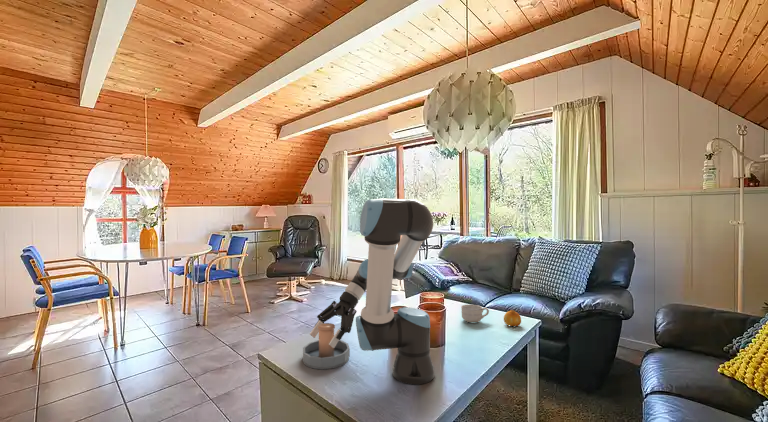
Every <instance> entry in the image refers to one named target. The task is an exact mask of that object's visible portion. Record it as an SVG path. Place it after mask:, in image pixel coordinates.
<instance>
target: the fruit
mask: <svg viewBox="0 0 768 422" xmlns="http://www.w3.org/2000/svg"><path fill="white" fill-rule="evenodd" d="M503 321H504V324H505V325H506V324H507V326H508V325H510V326H517V327H518V325H519V326H520V325H521V323H522V318H521V315H520V313H518V312H516V310H514V309H511V310H509V311H506V313H504V316H503ZM510 326H509V327H510Z"/></svg>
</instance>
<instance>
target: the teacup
mask: <svg viewBox="0 0 768 422" xmlns="http://www.w3.org/2000/svg"><path fill="white" fill-rule="evenodd" d="M460 307H461V318H462V319H463V320H464V322H466V321H467V322H466V323H468V322H478V323H479V322H480V321H481V320H482V319H484V318H485V317H486V316H488V315H489V313H490V310H489V308H487V307H486V306H485V307H483V306H481V305H478V304H463V305H461V306H460ZM484 310H486V313H484ZM483 313H484V314H483Z"/></svg>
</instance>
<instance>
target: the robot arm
mask: <svg viewBox="0 0 768 422" xmlns="http://www.w3.org/2000/svg"><path fill="white" fill-rule="evenodd" d="M361 209H362V210H361V211H360V212H361V213H360V221H359V223H360V224H359V233H360V235H361V236H363V237H364V242H366V243H367V244H368V253H367V255H368V257H367V258H366V259H364V260H363V261H362V262H361V263H360V265H359V266H358V270H357V271H356V273H355V274H354V276H353V278H352V279H351V281H350V282H349V284H348V285H347V286H346V288H345V289H344V291H343V292H342V293H341V295H340V296H339V301H338V302H337V301H335V300H333V301H332V302H331V303H330V305H328V306H327V307H326V308H324V310H322V311H321V312H320V313H319V314H318V315H317V316H316V318H317V322H316V324H315V325H314V326H313V328H312V330H311V331H310V333H309V335H310V336H311V337H313V338H314V339H315V338H316V337H317V335H319V330H318V326H319V325H320V324H324V323H326V322H327V321H328V320H330V319H332V318H333V317H335V316H336V317H337V316H339V317H340V328H337V329H338V330H337V331H336V332H335V333H334V337H333V338H332V340H331V341H330V343H329V345H330V346H331V347H333V348H335V346H336V344H337V343H338V341H339V340H341V339H342V338H343V337H344V335H345V334H346V333H348V334H350V333H351V331H352V327H353V322H354V320H355V327H356V333H357V334H356V335H357V339H358V344H359V348H360V350H361V351H364V352H365V351H367V352H368V351H372V352H375V351H380V350H389V349H390V350H391V349H397V352H396V356H395V358H394V363H393V364H392V376H393V378H394V379H395V380H397V381H399V382H400V383H403V384H408V385H424V384H428V383H430V382H431V381H432V379H433V380H434V378H435V374H436V373H435V366H434V365H433V361H432V357H431V349H430V348H431V318H430V315H429V314H428V312H426V311H424V310H422V309H419V308H415V307H407V306H405V307H404V306H403V307H399V308H398V310H397V312H396V313H395V312H394V310H393V309H392V308H391V306H392V305H391V303H392V291H393V281H394V280H404V279H410V278H412V277H413V270H414V268H413V264H412V263H413V261H414V259H415V257H416V255H417V253H418V251H419V250H420V248H421V246H422V244H423V243H424V242H425V241H427V240H428V239H429V238H430V235H431V234H432V233H433V232H432V231H433V228H434V219H433V215H432V213H431V211H430V210H429V208H428V207H427V206H426V205H425V204H424V203H423V202H421V201H419V200H416V199H412V198H401V199H400V198H372V199H371V198H370V199H367V200H366V201H365V202H364V204H363V206H362V208H361ZM396 247H397V248H396ZM395 248H396V249H395ZM365 292H366V295H365V306H363V307H362V309H361V311H360V315H357V316H356V314H357V309H356V308H355V307H356V306H357V305H358V303H359V301H360V300H361V299H362V297H363V295H364V294H365ZM355 316H356V317H355ZM354 318H355V319H354Z"/></svg>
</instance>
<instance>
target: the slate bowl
mask: <svg viewBox="0 0 768 422" xmlns="http://www.w3.org/2000/svg"><path fill="white" fill-rule="evenodd" d="M350 350H351V348H350V345H349V343H347V342H345V341H344V340H341V339H340V340H339V341H338V343H337V344H336V346H335V348H334V357H324V358H321V357H319V339H317V340H314V341H312V342H309V343H307V344H306V345H304V346H303V347H302V362H303V364H304V366H306V367H308V368H310V369H315V370H332V369H336V368H339V367H341V366H343V365H345V364H347V362H348V361H349V359H350V355H351V351H350Z"/></svg>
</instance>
